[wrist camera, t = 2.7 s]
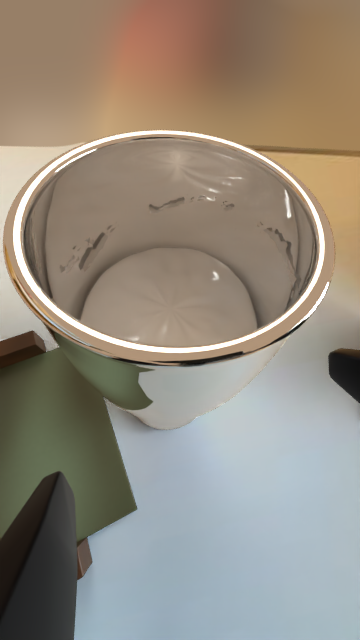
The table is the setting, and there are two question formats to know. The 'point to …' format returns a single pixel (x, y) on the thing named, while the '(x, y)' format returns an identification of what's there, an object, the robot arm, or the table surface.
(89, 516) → the dock
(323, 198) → the table surface
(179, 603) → the table surface
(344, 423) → the table surface
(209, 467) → the table surface
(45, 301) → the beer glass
